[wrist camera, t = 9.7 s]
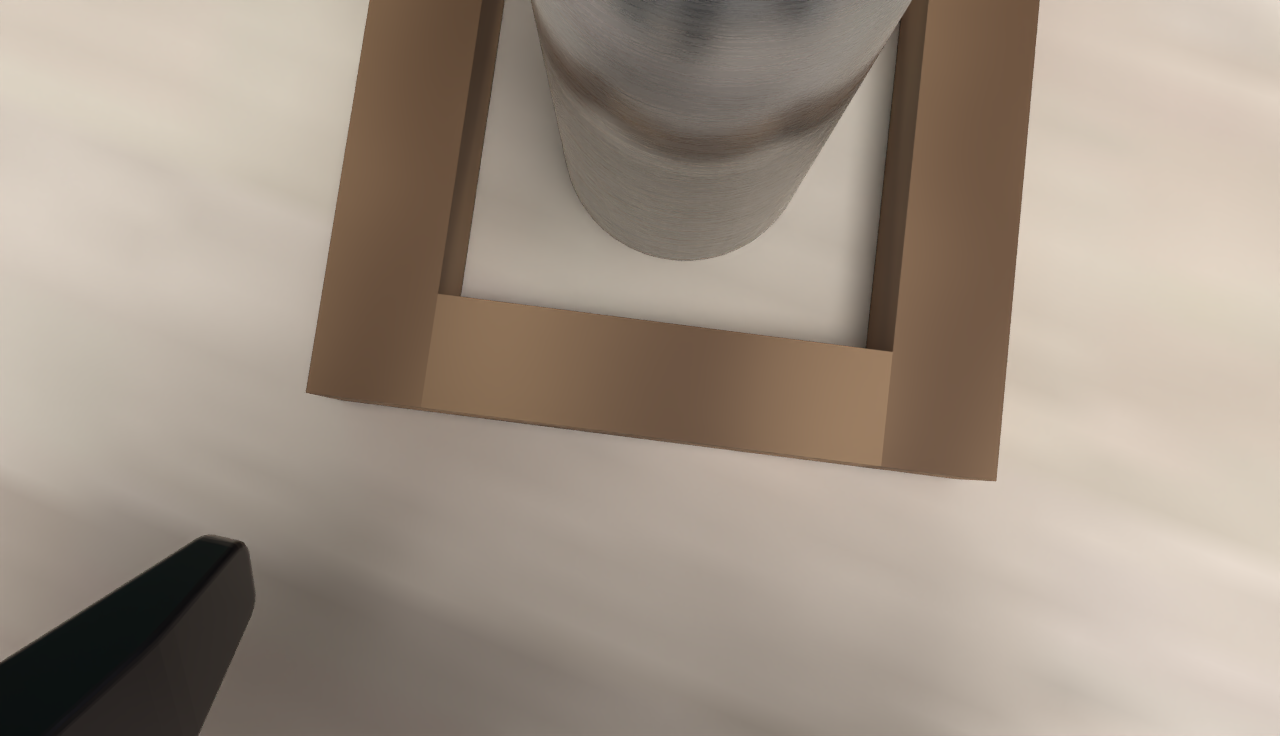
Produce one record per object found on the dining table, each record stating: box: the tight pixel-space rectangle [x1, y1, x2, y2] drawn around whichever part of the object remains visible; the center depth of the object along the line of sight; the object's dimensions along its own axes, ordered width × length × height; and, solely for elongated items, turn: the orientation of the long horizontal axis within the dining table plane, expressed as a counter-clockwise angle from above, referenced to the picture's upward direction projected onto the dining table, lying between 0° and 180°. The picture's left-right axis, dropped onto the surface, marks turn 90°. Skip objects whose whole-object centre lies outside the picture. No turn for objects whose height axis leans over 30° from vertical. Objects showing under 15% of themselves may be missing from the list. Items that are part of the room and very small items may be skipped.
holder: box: [306, 0, 1040, 481], centre depth 18 cm, size 12×12×2 cm
